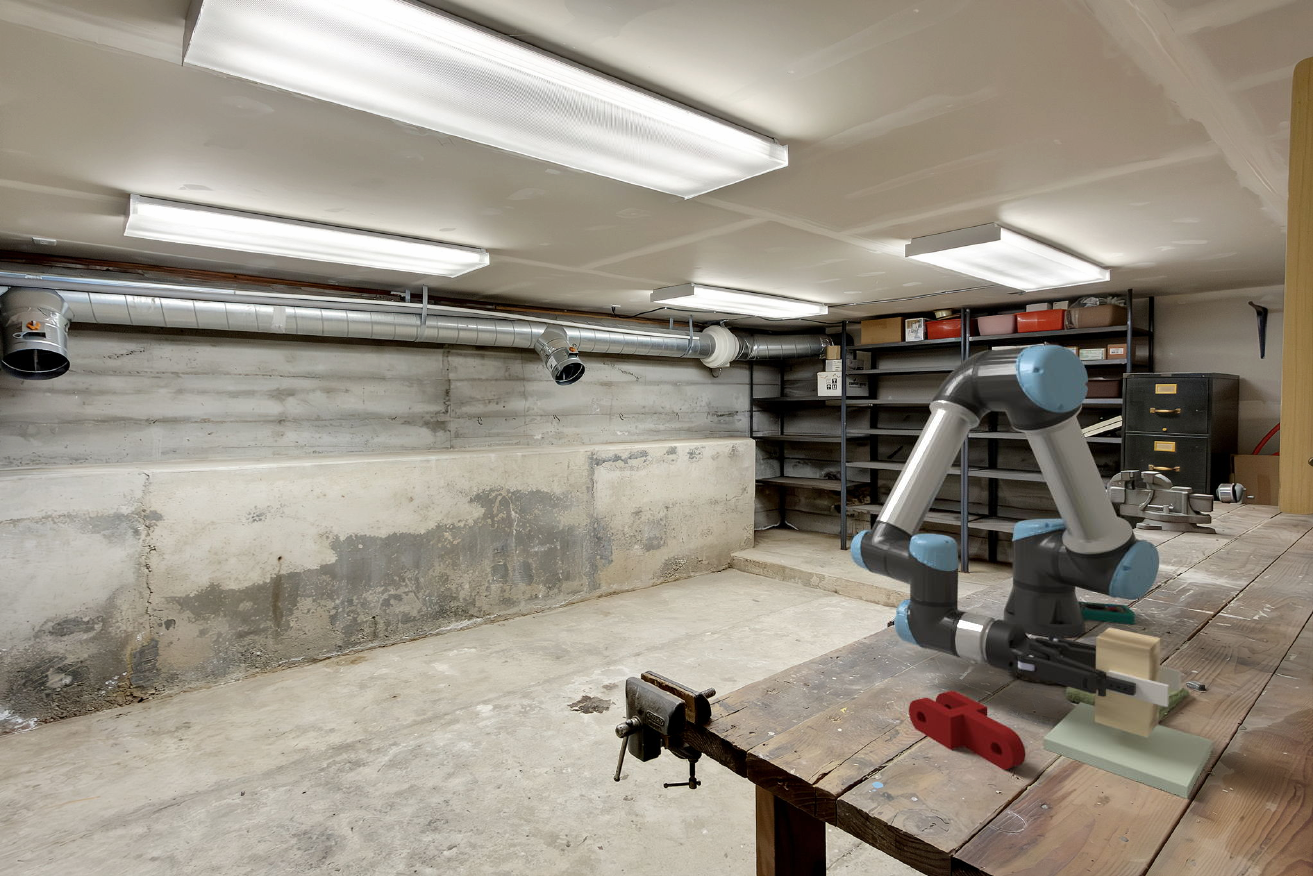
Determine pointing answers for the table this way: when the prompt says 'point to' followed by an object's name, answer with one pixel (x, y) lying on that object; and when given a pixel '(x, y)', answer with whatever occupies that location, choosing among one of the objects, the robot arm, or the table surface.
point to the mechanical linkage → (967, 728)
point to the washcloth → (1173, 700)
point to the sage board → (1132, 751)
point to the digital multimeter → (1107, 612)
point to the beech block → (1132, 659)
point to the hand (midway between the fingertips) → (1173, 688)
